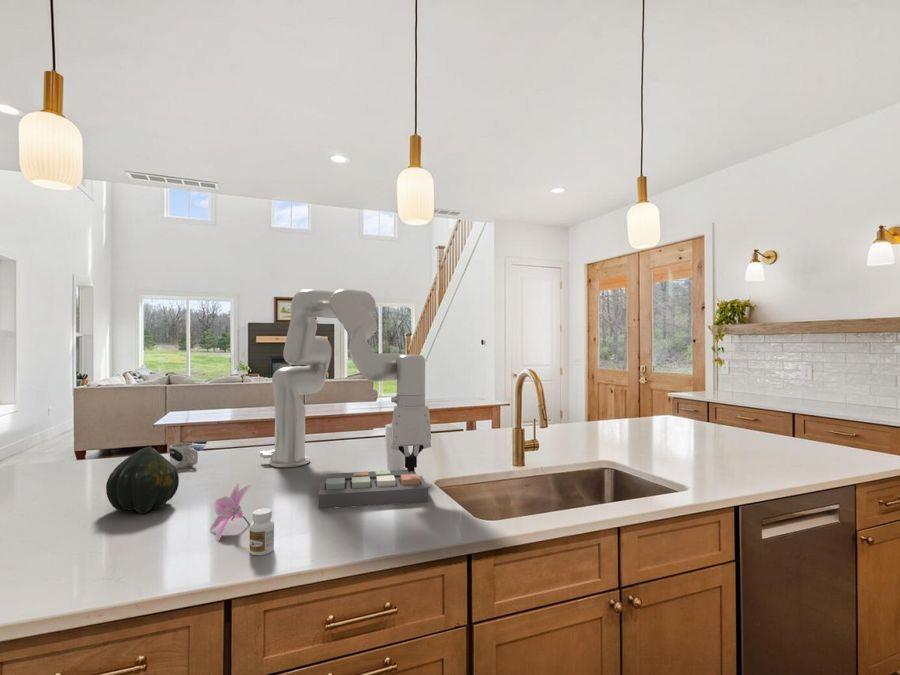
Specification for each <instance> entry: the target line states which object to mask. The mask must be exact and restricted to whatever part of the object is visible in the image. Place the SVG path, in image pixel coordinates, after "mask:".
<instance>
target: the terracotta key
mask: <svg viewBox="0 0 900 675" xmlns="http://www.w3.org/2000/svg"><path fill="white" fill-rule="evenodd" d="M419 476H420V475H419V474H418V473H416V474H406V475H400V484H401V485H417V484H420V478H419Z"/></svg>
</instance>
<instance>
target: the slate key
mask: <svg viewBox="0 0 900 675" xmlns="http://www.w3.org/2000/svg"><path fill="white" fill-rule="evenodd" d="M325 481H326V490H332V489H345V478H332V479H327V478H326V480H325Z"/></svg>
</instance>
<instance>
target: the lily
mask: <svg viewBox="0 0 900 675" xmlns="http://www.w3.org/2000/svg"><path fill="white" fill-rule="evenodd" d="M250 488H251V484H248V485H246V486H244V487H242V488H240V482H237V484H236V485H235V487H234V488H233V489H232V492H231V493H230V496H222V497H219V498H217V499H215V501H214V504H213V508H214V512H215V514H216V515H217V517H216V519H215V520H214V522H213V523H212V524H211V526H210V528H209V532H212V531H213V530H216V531H215V539H216V542H217V543H218V542H219V541H220V540H221V538H222V536H223V533H224V532H225V529H226V527H227V526H228V524H229V523H230V521H238V520H241V519H244V520H245V522H246V523H247V525H248V526H249V525H251V523H250V522H249V520H248V519H247V518H246V517H245V516H244V513H243V510H242V507H241V502H242V500H243V498H244V497H245V496H246V494H247V492H249V490H250Z"/></svg>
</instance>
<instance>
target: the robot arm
mask: <svg viewBox="0 0 900 675" xmlns="http://www.w3.org/2000/svg"><path fill="white" fill-rule="evenodd" d="M290 302H291V303H290V304H291V305H290V318H289V320H290V321H289V325H288V329H287V335H286V337H285V343H284V347H283V359H284V361H285V362H286V363H287V364H288V365H293V366H285V367H284V366H283V367H281V368H279V369H277V370H276V371H275V372H274V373H273V374H272V377H271V387H272V391H273V397H274V398H273V399H274V448H273V449H271V450H270V451H269V450H263V451H260V454H259V455H260V458H263V459H269V465H270V467H275V468H296V467H300V466H304V465H307V464H309V463H310V461H311V458H310V456H308V455H306V407H305V404H304V402H303V401H302V399H301V397H300V395H301V396H302V395H311V394H317V393H319V392H320V391H321V390H322V389H323V388H324V386H325V383H326V378H327V375H328V371H329V367H330V363H331V358H332V346H331V343H330V341H329V340H328V339H327V338H326V337H324V336H322V335H316V334H317V329H318V324H317V319H316V318H326V319H337V320H338V321H339V323H340V324H341V326H342V327H343V329H344V330H345V332H346V333H347V334H348V335H349V337H350V340H349V354H350V359H351V361H352V363H353V365H354V366H355V367H356V369H357V370H358V372H359V373H360V374H361V376H362V377H364V379H366V380H368V382H372V383H373V382H374V383H377V382H379V383H380V382H388V381H390V382H392V381H396V395H395V396H392V397H390V400H391V403H393V404H394V403H395V404H396V405H395V406H393V407H394V408H393V412H392V418H391V419H392V420H391V423H392V431H391V437H392V442H391V446H390V447H391V449H394V450H400V451H401V452H402V453H403V454H404V455H405V469H406V470H408V472H411V471H412V472H416V471H415V470H416V469H415V468H417V467H418V456H419V454H420V453H421V452H422V451H423V450H425V449H426V450H427V449H428V448H431V447H432V443H431V441H432V433H431V432H432V431H431V430H432V427H431V425H432V424H431V415H430V414H431V413H430V409H429V406H428V405H426V358H425V356H423V355H421V354H403V353H399V352H393V353H391V352H383V353H382V352H381V353H376V352H375V351H374V350H373V348H372V347H371V345H370V344H369V343H368V340H369V339H370V338H372V337H373V335H374V334H375V332H376V331H377V328H378V323H377V321H376V319H374V317H373V315H375V314H374V313H375V312H376V309H377V304H376V300H375V298H374V296H373V295H372V294H370V293H369V292H368V291H365V290H360V289H359V290H358V289H348V288H341V289H339V290H336V291H332V290H331V291H329V290H323V289H314V288H313V289H311V288H309V289H302V290H301V289H300V291H298V292H296V293H295V294H294V296H293V297H292V299H291V301H290ZM295 365H296V366H295ZM410 446H411V447H412V446H413V447H412V451H411V453H410V451H409V447H410Z"/></svg>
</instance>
